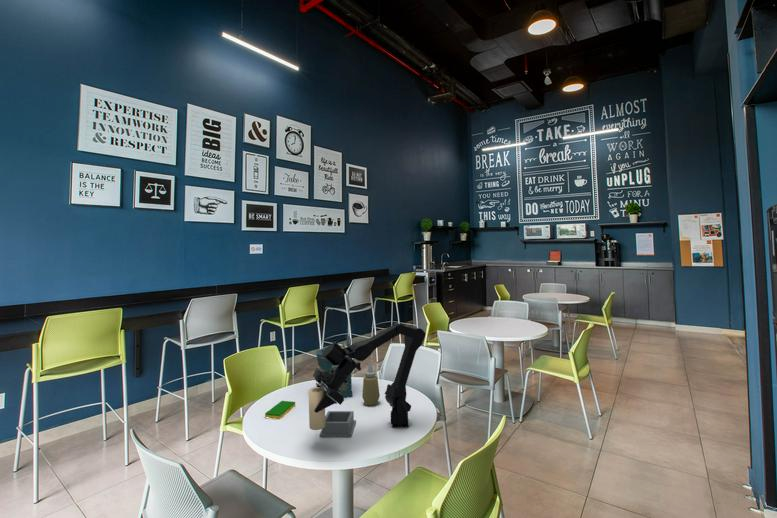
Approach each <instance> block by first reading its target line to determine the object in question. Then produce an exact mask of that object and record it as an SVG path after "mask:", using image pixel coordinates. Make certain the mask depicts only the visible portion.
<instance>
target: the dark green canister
mask: <svg viewBox="0 0 777 518" xmlns="http://www.w3.org/2000/svg"><path fill="white" fill-rule="evenodd" d="M351 345H352V338H351V337H350V335H349V334H348V332H346V341H345V342H343V343H342V346H340V347H341V348H342V349H343V348H346V347H350V346H351ZM325 348H326V347H324V348H320V349H317V350H316V361H317V368H320V369H323V370H326V371H330V370H331V369H334V370H335V368H336V367H337V366H338V365H335V366H334V365H332V364H331V363H330V362H329V361H328V360H326V359H325V358H324V357H323V356H322V353H323V351H324V350H325ZM345 357H346V358H347V359H349V358H350V357H349V356H347V355H346V356H345ZM346 377H347V376H346ZM346 380H347V381H348V382H347V383H343V385H342V386H341V387H340V388H339V390H340V393H341V394H342V395H343V396H344V399H347V397H349V398H353V390H352V389H353V388H352V373H351V374H350V376H349V377H347V379H346Z"/></svg>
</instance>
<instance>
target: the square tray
mask: <svg viewBox="0 0 777 518" xmlns="http://www.w3.org/2000/svg"><path fill="white" fill-rule="evenodd" d="M354 417H355V415H354V410H349V411H348V410H328V411H327V412H326V413H325V427H324V428H323V429H320V433H319V438H352V436H353V433H354V429H355V427H356V425H357V420H356V419H355V418H354ZM354 419H355V420H354Z"/></svg>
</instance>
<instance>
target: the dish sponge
mask: <svg viewBox="0 0 777 518" xmlns="http://www.w3.org/2000/svg"><path fill="white" fill-rule="evenodd" d="M293 407H294V408H295V407H296V401H290V400H289V401H287V400H281V401H280V402H278V403H277V404H275V405H273V407H272V408H271V409H269V410H268V411H266V412H265V414H264V417H269V418H276V419H275V420H281V419H283V418H284V415H285V414H286V413H287V414H288V413H290V411H292V410H293V409H294V408H293ZM292 408H293V409H292ZM291 409H292V410H291ZM287 414H286V415H287ZM286 415H285V416H286ZM269 418H268V419H269ZM280 418H281V419H280Z"/></svg>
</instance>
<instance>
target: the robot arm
mask: <svg viewBox="0 0 777 518" xmlns="http://www.w3.org/2000/svg"><path fill="white" fill-rule="evenodd" d="M399 335H403V336H404V339H403V340H404V342H403V343H404V349H403V352H402V355H401V358H400V362H399V365H398V369H397V370H396V371H397V372H396V374H395V378H394V381H393V382H392V383H391V384H390V383H388V384H387V386H386V389H385V392H384V395H385V396H384V398H385V401H386V402H387V403H388V405H389V406H390V407H391V411H390V424H391V428H409V420H410V419H409V412H411V409H412V404H410V403H409V402H408V401H407V399H406V398H407V383H408V380H409V375H410V372H411V369H412V366H413V363H414V360H415V356H416V353H417V351H418V349H419V348H420V347H421V346H422V345H423V343H424V340H425V338H426V333H425V331H424V330H423V329H422V328H420V327H417V326H413V325H411V326H406V325H404V324H402V323H400V322H394V323H393V324H391V325H390V326H388V327H386V328H385V329H383V330H381V331H380V332H378V333H376V334H374V335H373V336H370V337H369V338H367V339H363V340H358V341H355V342H354V343H351V346H350V347H346V348H343V349H342V348H341V346H340V344H338V342H336V341H333V342H332V343H331V344H329V345H328V346H326V347H324V348H325V350H324V351H323V353H322V356H323V357H324V358H325V359H326V360H328V361H329V362H330V363H331V364H332V365H334V366H335V365H338V366H337V367H336V368H335V370H334V369H331V370H330V371H326V370H323V369H320V368H318V367H315V370H314V372H313V375H312V377H314V381H315V386H316V387H321V388H324V391H325V392H324V391H323V397H322V399H321V401H320V402H319V404H318V405H317V407H316V409H315V410H314V411H315V412H316V413H317V412H319V411H321V410H323V409H325V410H326V408H329V407H330V406H332V405H335V404H338V405H340V406H341V405H342V404H343V402H344V401H345V398H344V396H343V395H342V394H341V393H340V390H339V388H340V387H341V386H342V385H343V383H347V382H348V381H347V380H346V379H347V377H349V376H350V374H351V375H352V373H353V372H354V370H356V369H357V370H358V371H361V370H362V368H361V362H363V361H365V360H366V359H367V358H369V357H370V356H372V354H373V352H374V351H375V350H376V349H378V348H379V347H381V346H383V345H384V344H386V343H387V342H389V341H391V340H392V339H394V338H396V337H398V336H399ZM346 355H347V356H349V357H350V358H349V359H347V358H346V357H345V356H346ZM354 359H355V360H357V361H355V360H354ZM346 376H347V377H346ZM316 387H315V388H316Z"/></svg>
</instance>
